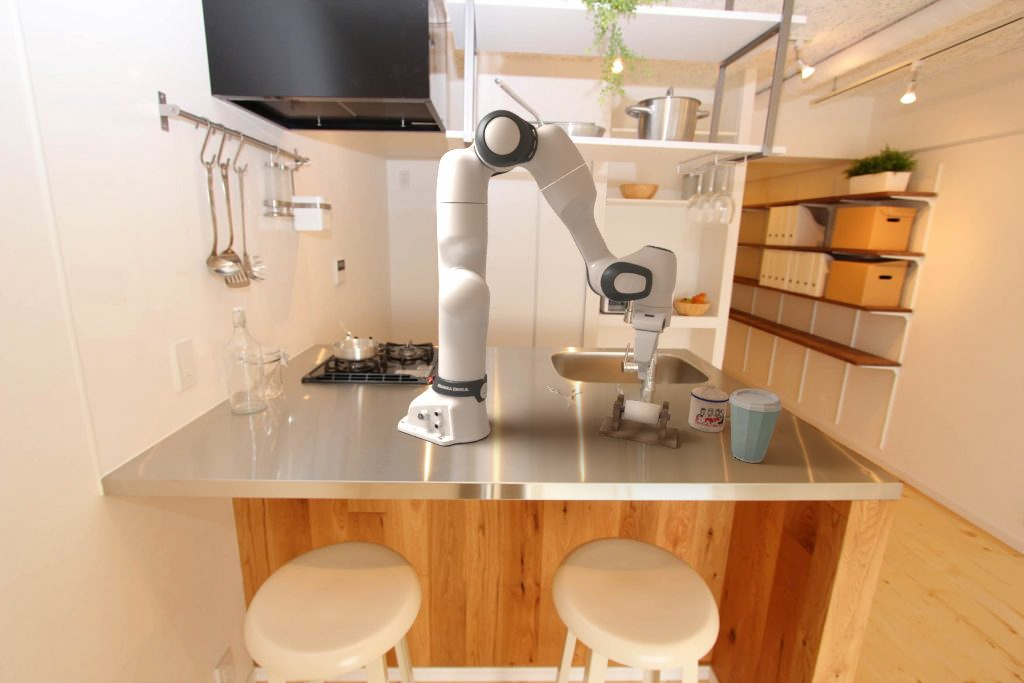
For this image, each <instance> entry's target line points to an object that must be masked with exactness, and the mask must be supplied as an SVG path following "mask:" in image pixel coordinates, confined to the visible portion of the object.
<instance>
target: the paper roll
mask: <svg viewBox="0 0 1024 683" xmlns="http://www.w3.org/2000/svg"><path fill="white" fill-rule="evenodd" d="M661 410H662V405H661V404H656V403H652V402H651V403H650V402H644V401H638V400H637V401H636V400H631V399H626V400H625V405H623V406H621V408H620V412H623V413H624V414H623V419H624V420H628V421H634V422H640V423H645V424H651V425H657V426H658V425H660V417H661ZM667 421H671V413H669V412H668V414H667Z"/></svg>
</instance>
